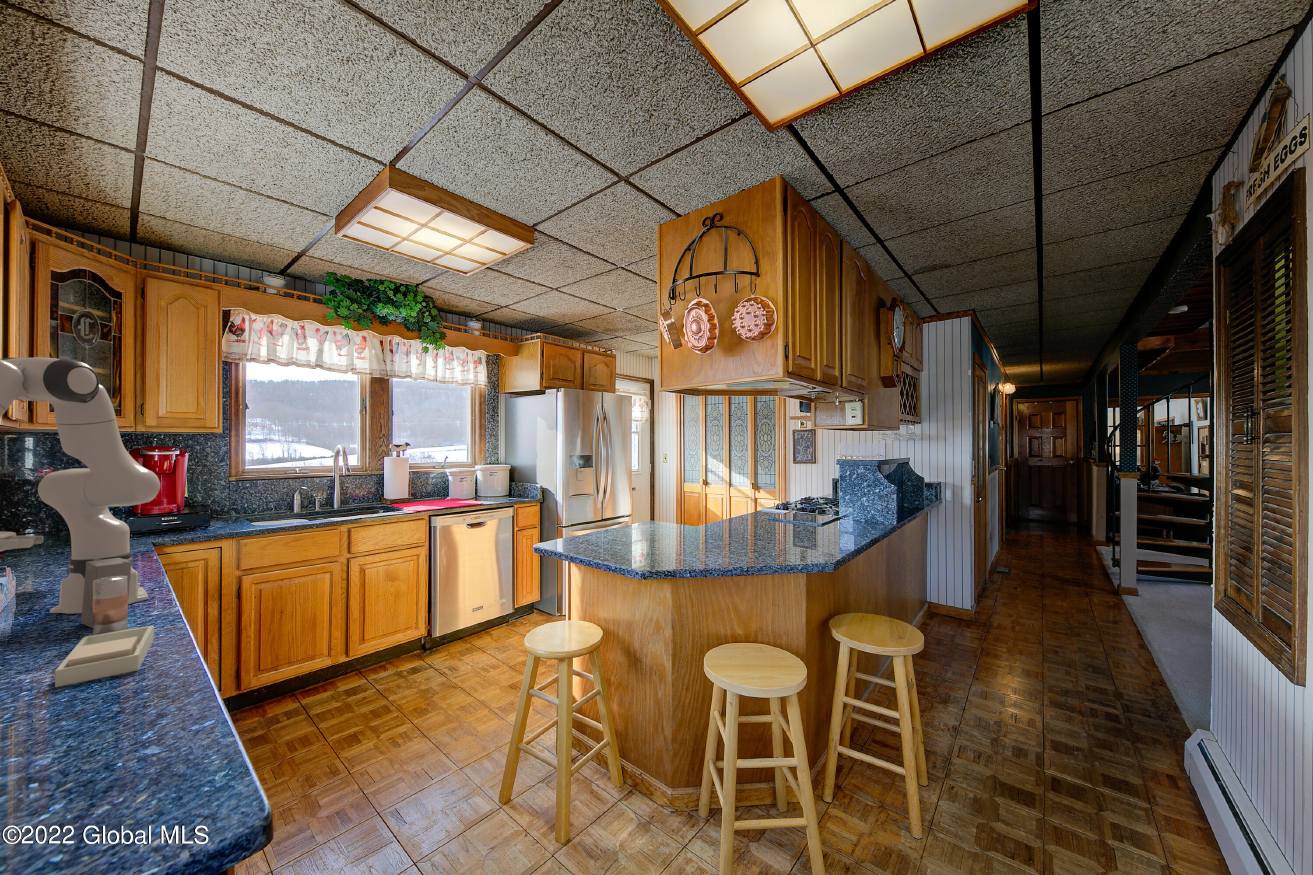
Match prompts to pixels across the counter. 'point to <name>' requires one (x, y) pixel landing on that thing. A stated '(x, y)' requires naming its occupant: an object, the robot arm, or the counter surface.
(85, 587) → the skincare box
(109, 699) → the counter surface
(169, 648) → the counter surface
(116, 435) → the robot arm
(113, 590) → the steel can
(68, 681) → the tote
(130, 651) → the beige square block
